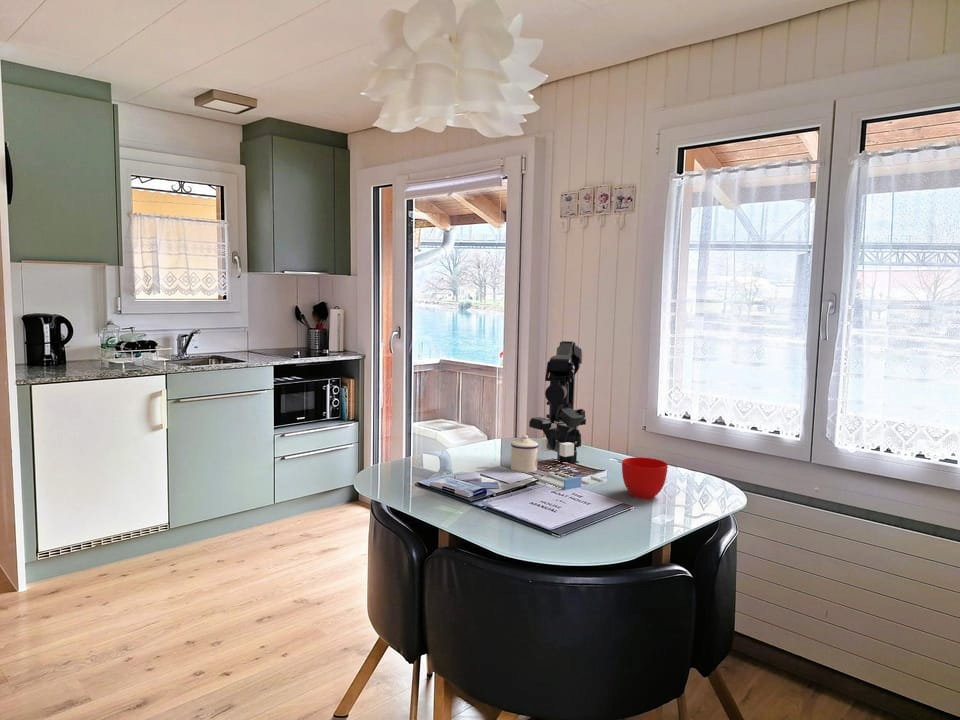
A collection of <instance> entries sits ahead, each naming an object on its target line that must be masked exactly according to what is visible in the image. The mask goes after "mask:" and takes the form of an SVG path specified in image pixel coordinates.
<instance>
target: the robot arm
mask: <svg viewBox="0 0 960 720" xmlns="http://www.w3.org/2000/svg"><path fill="white" fill-rule="evenodd" d="M546 363H547V364H546V371H545V377H544V378H545V379H544V381H545V382H549V386H548V387H546V390H545V391H544V395H545V399H546V405H547V406H549V407H548V414H546V415H545V417H543V416H542V417H541V416H537V417H532V418H530V420H529V424H528V425H529V428H532V429H535V430H540V431H542V432H543V433H544V436H545V438H547V440H548V442H549V445H550V447H551V449H552V450H554V449H555V441H558V442H562V443H566V442H570V443H573V444H574V455H573V456H567V457H564V456H561V455H559V452H556V453H557V455H556V456H557V458H556V460H558V461H560V462H568V463H574V464H578V463H580V461H578V460H577V458H578V457H577V455H578V454H577V453H578V451H577V448H579V447H582V434H581V432H580V429H578V428H579V427H580V426H583V425H587V418H586V410H585V409H583V408H578V409H575V391H576V390H575V389H576V388H575V387H576V386H575V385H576V384H575V383H576V375H577V374H578V371H579V369H580V367H581V364H583V351H582V348H581V347H579V346H577V344H576V342H574V341H569V340H568V341H567V340H564V341H563V340H562V341H560V342H559V346H558V347H557V348H556V355H553V356H551V357H550V358H549V360H548V361H547V362H546ZM552 450H551V451H552Z"/></svg>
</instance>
